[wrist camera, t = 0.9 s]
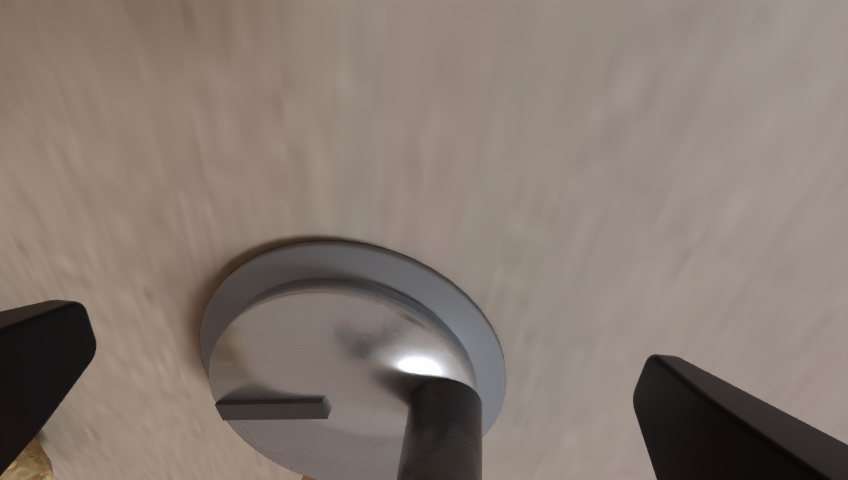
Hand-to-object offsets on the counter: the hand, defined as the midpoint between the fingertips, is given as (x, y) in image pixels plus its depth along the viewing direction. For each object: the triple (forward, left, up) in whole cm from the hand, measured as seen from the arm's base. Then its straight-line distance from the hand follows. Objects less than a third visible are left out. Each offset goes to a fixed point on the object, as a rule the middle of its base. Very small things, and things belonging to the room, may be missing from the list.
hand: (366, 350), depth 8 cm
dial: (-6, +14, -13) cm, 20 cm away
